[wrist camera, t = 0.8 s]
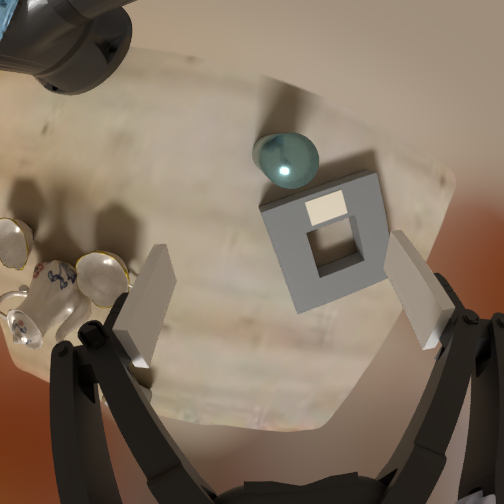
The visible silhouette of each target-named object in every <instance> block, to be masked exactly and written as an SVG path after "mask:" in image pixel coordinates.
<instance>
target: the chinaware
mask: <svg viewBox="0 0 504 504" xmlns="http://www.w3.org/2000/svg"><path fill="white" fill-rule="evenodd" d="M32 231H33V229H31V228H30V227H29V226H28V225H27V224H25V223H24V222H23V221H21V220H18V219H10V218H0V260H1V262H2V263H3V265H4V266H6V267H8V268H14V267H15V269H17V270H23V269H24V267H25V265H26V262H27V259H28V256H29V255H30V253H31V251H32V246H33V240H34V239H33V232H32ZM129 286H130V287H131V288H132V286H133V285H131V284H129V273H128V270H127V267H126V265H125V263H124V262H123V260H122V259H121V258H120V256H117V255H116V254H114V253H111V252H107V251H103V250H99V251H93V252H90V253H88V254H86V255H83V256H82V257H80V258H79V259H77V261H76V268H75V267H74V266H72V265H71V264H69V263H68V262H65V261H62V260H52V261H49V262H45V263H38V264H37V265H36V266H35V269H34V273H33V279H32V282H31V286H30V289H29V288H28V286H26V285H21V286H20V287H19V291H11V292H7V293H5V294H3V295H1V296H0V304H1V303H2V302H3V301H4V300H5V299H7V298H9V297H13V296H23V297H26V298H25V300H24V301H23V302H22V304H21V305H20V306H19V307H18V308H16V309H13V310H12V309H10V310H9V312H8V315H5V314H4V313H2V312H1V311H0V317H2V318H4V319H6V320H8V325H9V327H10V330H11V332H12V333H13V342H14V343H15V344H21V343H22V344H23V345H25V346H27V347H28V348H31V349H34V350H36V349H40V347H41V346H42V341H43V338H44V336H45V334H46V333H47V332H48V331H49V329H51V328H52V327H53V326H55V325H56V324H58V323H60V322H63V321H64V322H63V324H62V325H61V326H60V327H59V329H58V330H57V332H56V336H55V338H56V341H57V343H59V342H61V341H64V338H65V337H66V336H67V335H68V334H70V333H71V332H72V331H74V330H75V329H77V328H78V327H80V326H81V325H83V324H84V323H85V322H86V321H87V320H88V319H89V317H90V315H91V300H92V301H93V302H94V304H95V305H97V306H99V307H100V308H110V307H112V306H113V305H114V303H115V301H116V299H117V298H118V297H119V296H120V295H121V294H122V293H123V292H129ZM90 297H91V299H90Z"/></svg>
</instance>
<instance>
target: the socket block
mask: <svg viewBox="0 0 504 504" xmlns="http://www.w3.org/2000/svg"><path fill="white" fill-rule="evenodd" d="M259 209H260V212H261V215H262V217H263V220H264V223H265V226H266V228H267V231H268V234H269V236H270V239H271V242H272V245H273V247H274V250H275V253H276V256H277V258H278V261H279V264H280V267H281V269H282V272H283V275H284V278H285V280H286V283H287V286H288V289H289V292H290V295H291V297H292V300H293V303H294V306H295V309H296V311H297V314H300V313H303V312H305V311H308V310H311V309H313V308H316V307H319V306H321V305H324V304H327V303H329V302H332V301H334V300H337V299H339V298H342V297H344V296H347V295H349V294H352V293H354V292H356V291H359V290H361V289H364V288H366V287H368V286H371V285H373V284H375V283H378V282H380V281H382V280H385V279H387V278H388V277H387V275H386V273H385V271H384V269H383V267H384V263H385V258H386V253H387V248H388V243H389V231H388V225H387V219H386V214H385V209H384V204H383V199H382V194H381V189H380V185H379V180H378V176H377V172H373V171H370V170H364V171H361V172H358V173H355V174H352V175H349V176H346V177H343V178H340V179H337V180H334V181H331V182H328V183H325V184H322V185H319V186H316V187H313V188H310V189H307V190H305V191H302V192H299V193H296V194H293V195H290V196H288V197H285V198H282V199H279V200H277V201H274V202H271V203H268V204H266V205H263V206H260V207H259ZM348 217H349V221H350V225H351V229H352V233H353V238H354V242H355V247H356V251H357V252H356V253H354V254H351V255H349V256H346V257H343V258H341V259H338V260H336V261H333V262H331V263H328V264H325V265H323V266H320V267H318V268H317V267H316V264H315V261H314V257H313V254H312V250H311V247H310V244H309V241H308V237H307V234H306V233H307V232H310V231H313V230H316V229H318V228H321V227H324V226H326V225H329V224H332V223H334V222H337V221H340V220H343V219H345V218H348Z"/></svg>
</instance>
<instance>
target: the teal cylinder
mask: <svg viewBox="0 0 504 504" xmlns="http://www.w3.org/2000/svg"><path fill="white" fill-rule="evenodd" d="M252 156H253V160H254V162H255V164H256V165H257V167H258V168H259V169H260V170H261V171H262V172H263V173H264V174H265V175H266V176H267V177H268V178H269V179H270V180H271V181H272V182H273V183H275V184H276V185H278V186H280V187H282V188H287V189H295V188H300V187H302V186H304V185H306V184H308V183H309V182H310V181H311V180H312V179H313V178H314V176H315V175H316V173H317V170H318V167H319V155H318V151H317V149H316V147H315V145H314V144H313V143H312V142H311V141H310V140H309V139H308V138H307V137H305V136H303V135H301V134H298V133H280V134H271V135H266V136H263V137H262V138H260V139H259V140H258V141H257V142H256V143H255V145H254V147H253V152H252Z"/></svg>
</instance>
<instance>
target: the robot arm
mask: <svg viewBox="0 0 504 504" xmlns="http://www.w3.org/2000/svg"><path fill="white" fill-rule="evenodd" d="M134 1H136V0H0V70H3V71H11V72H18V73H24V74H30V75H33V76H34V77H35V78H36V79H37V80H38V81H39V82H40V83H41V84H42V85H43V86H44V87H45V88H46V89H48V90H49V91H51V92H54V93H57V94H63V95H77V94H81V93H84V92H87V91H89V90H91V89H93V88H95V87H97V86H98V85H100V84H101V83H102V82H104V81H105V80H106V79H107V78H108V77H109V76H110V75H111V74H112V73H113V72H114V71H115V70H116V69H117V67H118V66H119V65H120V63H121V62H122V60H123V59H124V57H125V55H126V53H127V51H128V49H129V46H130V43H131V38H132V23H131V19H130V17H129V15H128V14H127V12H126V11H125V10H124V9H123V8H122V6H124V5H126V4H129V3H131V2H134ZM383 269H384V271H385V273H386V275H387V277H388V278H389V280H390V282H391V284H392V286H393V288H394V290H395V292H396V294H397V296H398V298H399V300H400V302H401V304H402V306H403V308H404V310H405V312H406V314H407V316H408V319H409V321H410V323H411V325H412V327H413V329H414V332H415V333H416V336H417V338H418V341H419V343H420V345H421V347H422V350H426V349H430V348H435V346H436V345H437V343H438V341H439V339H440V342H441V344H442V346H441V348H440V350H439V352H438V354H437V355H436V357H435V358H434V359H436V362H435V365H434V368H433V370H432V373H431V376H430V378H429V381H428V383H427V385H426V388H425V390H424V393H423V395H422V397H421V400H420V402H419V404H418V406H417V409H416V411H415V413H414V415H413V417H412V419H411V421H410V424H409V425H408V427H407V429H406V431H405V433H404V435H403V437H402V439H401V441H400V443H399V444H398V446H397V448H396V450H395V452H394V453H393V455H392V457H391V458H390V460H389V462H388V463H387V464H386V466H385V467H384V468H383V469H382V470H381V472H380V473H379V475H378V476H377V477H376V479H373V478H369V477H364V476H358V472H353V473H347V474H342V475H336V476H330V477H327V478H324V479H322V480H319V481H316V482H314V483H310V484H307V485H304V486H298V485H291V484H285V483H279V482H273V481H265V482H244V485H243V486H239V487H235V488H232V489H230V490H228V491H226V492H224V493H222V494H220V495H219V496H218V495H217V494H216V492H215V491H214V490H213V489H212V488H211V487H210V486H209V484H208V483H207V482H206V481H205V480H204V479H203V478H202V477H201V476H200V475H199V473H198V472H197V471H196V470H195V468H194V467H193V466H192V465H191V463H190V462H189V461H188V459H187V458H186V457H185V455H184V454H183V453H182V451H181V450H180V448H179V447H178V446H177V444H176V443H175V441H174V440H173V438H172V437H171V436H170V434H169V433H168V431H167V430H166V428H165V427H164V425H163V424H162V422H161V421H160V419H159V417H158V416H157V414H156V413H155V411H154V409H153V408H152V406H151V405H150V403H149V401H148V400H147V398H146V396H145V395H144V393H143V391H142V389H141V388H140V386H139V384H138V382H137V380H136V379H135V377H134V375H133V373H132V371H131V369H130V368H129V367H128V366H129V363H130V360H131V361H132V363H133V364H134V366H135V367H143V368H149V366H150V363H151V359H152V356H153V353H154V349H155V346H156V343H157V340H158V336H159V333H160V330H161V327H162V324H163V320H164V317H165V314H166V311H167V308H168V305H169V302H170V299H171V296H172V293H173V290H174V287H175V284H176V282H177V280H176V277H175V274H174V270H173V267H172V263H171V260H170V256H169V253H168V249H167V246H166V244H158V245H154V246H153V248H152V250H151V252H150V253H149V255H148V257H147V259H146V261H145V263H144V265H143V267H142V269H141V271H140V272H139V274H138V276H137V278H136V280H135V282H134V284H133V286H132V288H131V290H130V292H123V293H122V294H121V295H120V296H119V297H118V298H117V299H116V301H115V303H114V305H113V308H111V310H110V313H109V315H108V317H107V319H106V321H105V323H104V325H102V324H101V322H100V321H97V320H91V321H88V322H86V323H85V324H83V325H82V326H81V327H80V329H79V331H78V338H79V340H80V341H81V342H82V344H83V345H80V346H75V347H74V346H73V345H72V343H71V342H70V341H67V340H65V341H61V342H59V343H57V344H56V345H55V346H54V348H53V349H52V353H51V366H50V427H51V440H52V452H53V460H54V468H55V475H56V481H57V487H58V492H59V497H60V502H61V504H123V503H122V500H121V497H120V494H119V490H118V487H117V483H116V480H115V476H114V472H113V468H112V464H111V460H110V456H109V452H108V447H107V442H106V437H105V432H104V426H103V421H102V414H101V407H100V400H99V393H98V384H97V383H99V385H100V388H101V390H102V393H103V395H104V397H105V400H106V402H107V404H108V406H109V408H110V410H111V413H112V415H113V417H114V419H115V421H116V423H117V425H118V427H119V429H120V431H121V433H122V435H123V437H124V439H125V441H126V443H127V445H128V447H129V448H130V450H131V452H132V454H133V456H134V457H135V459H136V461H137V462H138V464H139V466H140V467H141V469H142V471H143V472H144V474H145V476H146V477H147V485H148V487H149V489H150V491H151V492H152V494H153V495H154V497H155V498H156V500H157V501H158V503H159V504H425V503H426V502H427V500H428V498H429V496H430V495H431V493H432V491H433V489H434V487H435V485H436V483H437V481H438V479H439V477H440V475H441V473H442V471H443V469H444V466H445V464H446V459H447V458H446V456H445V452H446V449H447V446H448V444H449V442H450V439H451V436H452V434H453V431H454V428H455V426H456V423H457V420H458V417H459V414H460V411H461V408H462V405H463V402H464V398H465V395H466V391H467V387H468V384H469V380H470V376H471V405H470V420H469V429H468V437H467V445H466V452H465V458H464V463H463V469H462V474H461V479H460V484H459V491H458V501H457V502H456V503H455V504H504V314H502V313H495V314H493V316H492V318H491V320H488V319H487V320H486V319H480V318H479V316H478V315H477V314H476V313H475V312H474V311H472V310H469V309H465V307H464V306H463V304H462V303H461V301H460V300H459V298H458V297H457V295H456V293H455V292H453V289H452V288H451V286H450V285H449V283H448V282H447V280H446V279H445V278H444V277H443V276H442V275H440V274H439V273H433V272H432V271H431V269H430V268H429V266H428V265H427V264H426V262H425V261H424V259H423V258H422V257H421V255H420V254H419V253H418V251H417V250H416V248H415V247H414V246H413V244H412V243H411V242H410V240H409V239H408V238H407V237H406V235H405V234H404V233H403V231H402V230H396V231H391V232H390V237H389V243H388V248H387V253H386V258H385V263H384V267H383Z"/></svg>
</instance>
